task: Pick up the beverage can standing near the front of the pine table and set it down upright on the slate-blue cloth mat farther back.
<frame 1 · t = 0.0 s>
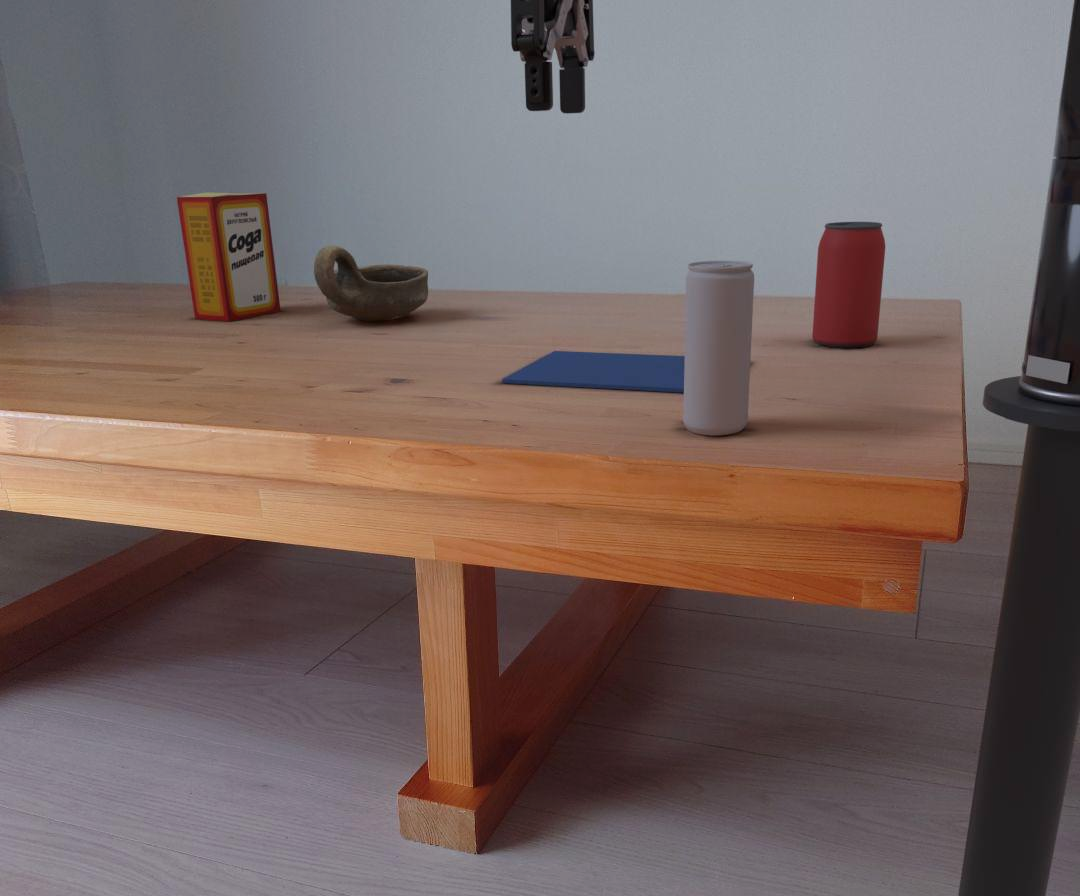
hand: (557, 112, 89), 23 cm above the table, tool pointing down, fingers open, 8 cm apart
baking soda box: (238, 316, 139), on the table
beer can: (844, 345, 106), on the table
beverage can: (714, 431, 76), on the table
bowl: (371, 323, 129), on the table
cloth: (628, 372, 95), on the table
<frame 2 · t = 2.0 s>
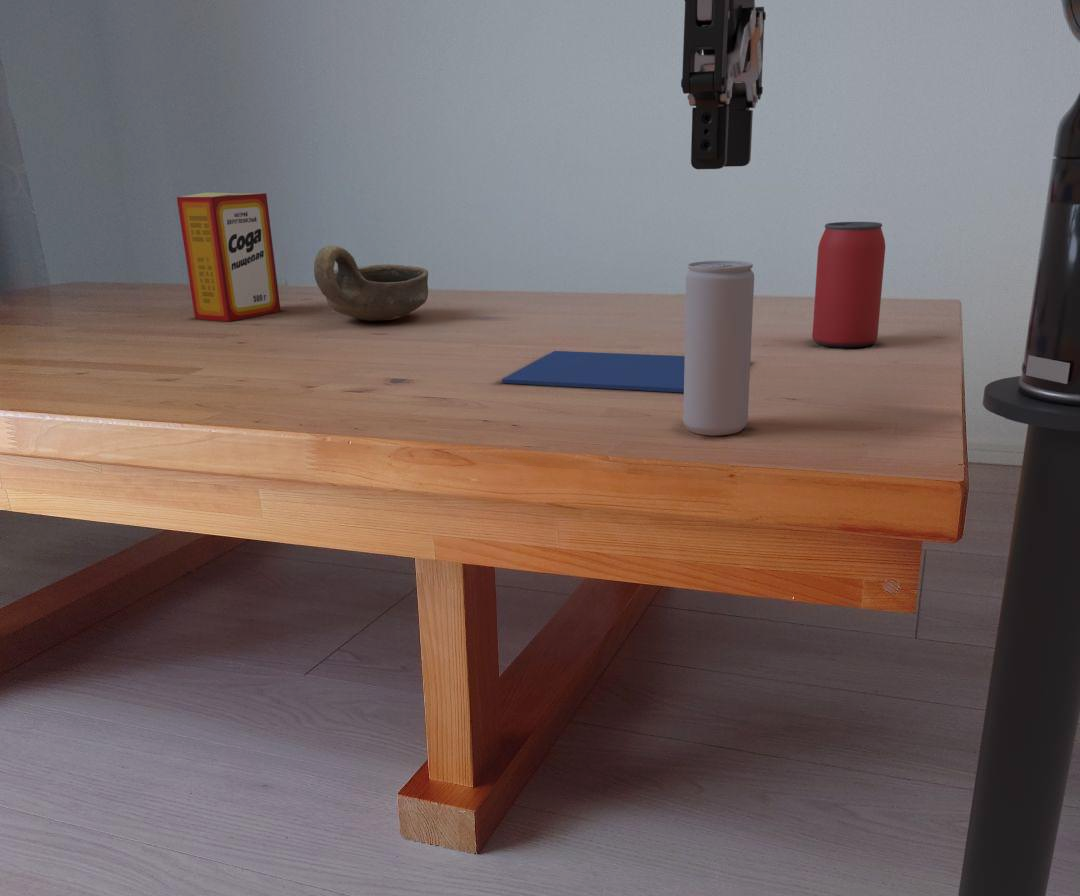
hand: (722, 167, 69), 18 cm above the table, tool pointing down, fingers open, 8 cm apart
nothing on the table moved.
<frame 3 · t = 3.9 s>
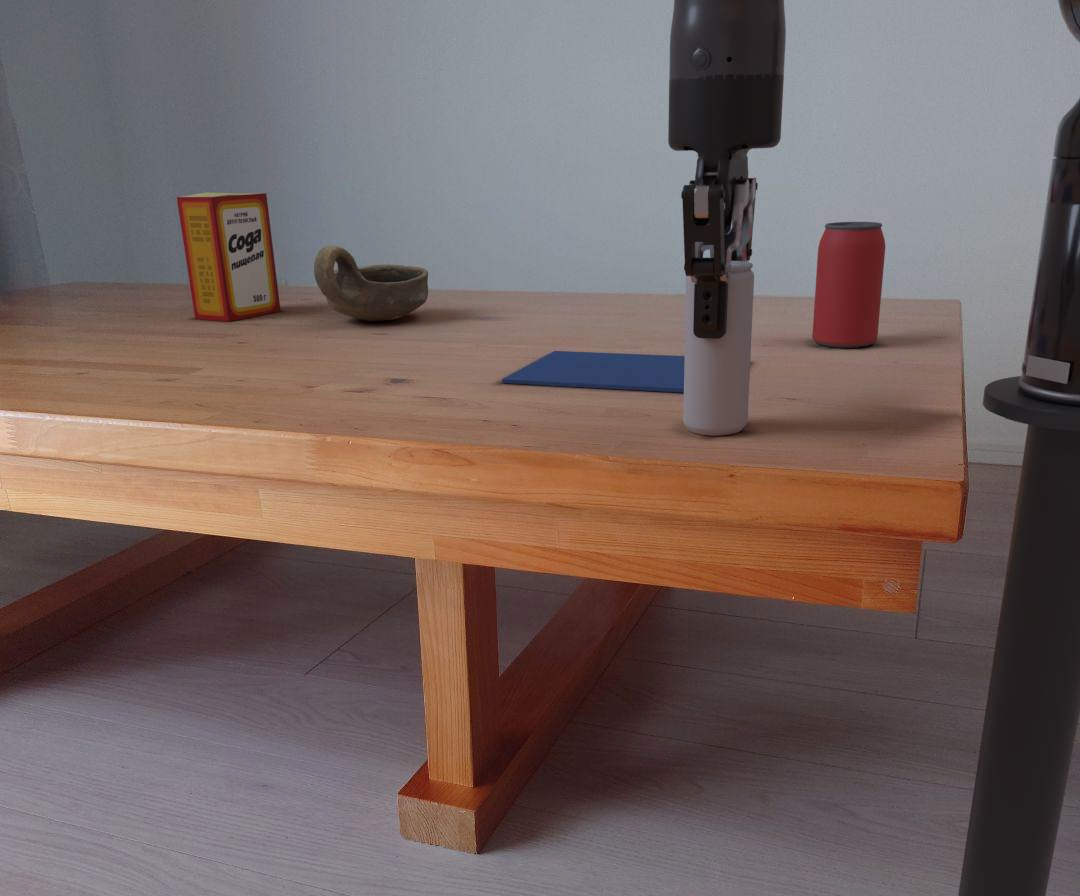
hand: (717, 329, 73), 7 cm above the table, tool pointing down, fingers closed on beverage can, 5 cm apart
beverage can: (714, 431, 76), on the table, touching gripper
everything else where it was.
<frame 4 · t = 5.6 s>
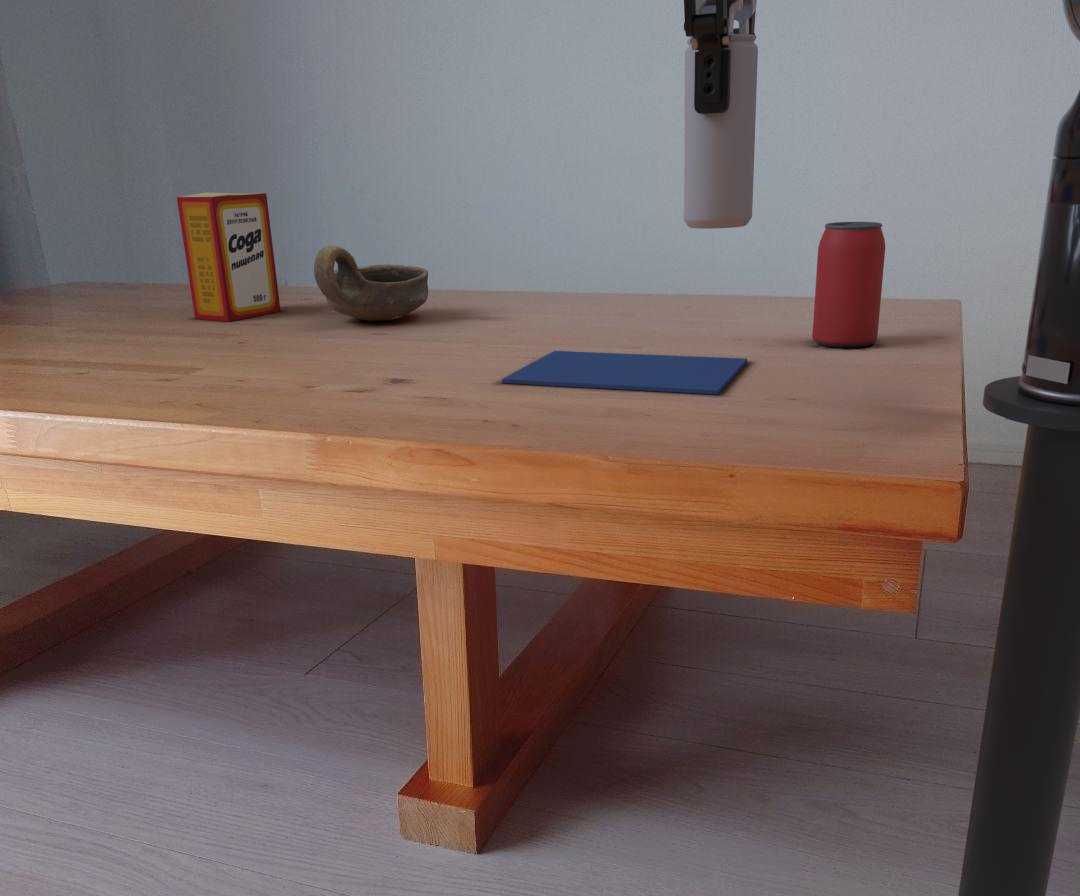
hand: (719, 112, 69), 22 cm above the table, tool pointing down, fingers closed on beverage can, 5 cm apart
beverage can: (717, 229, 71), point 14 cm above the table, touching gripper
everything else where it was.
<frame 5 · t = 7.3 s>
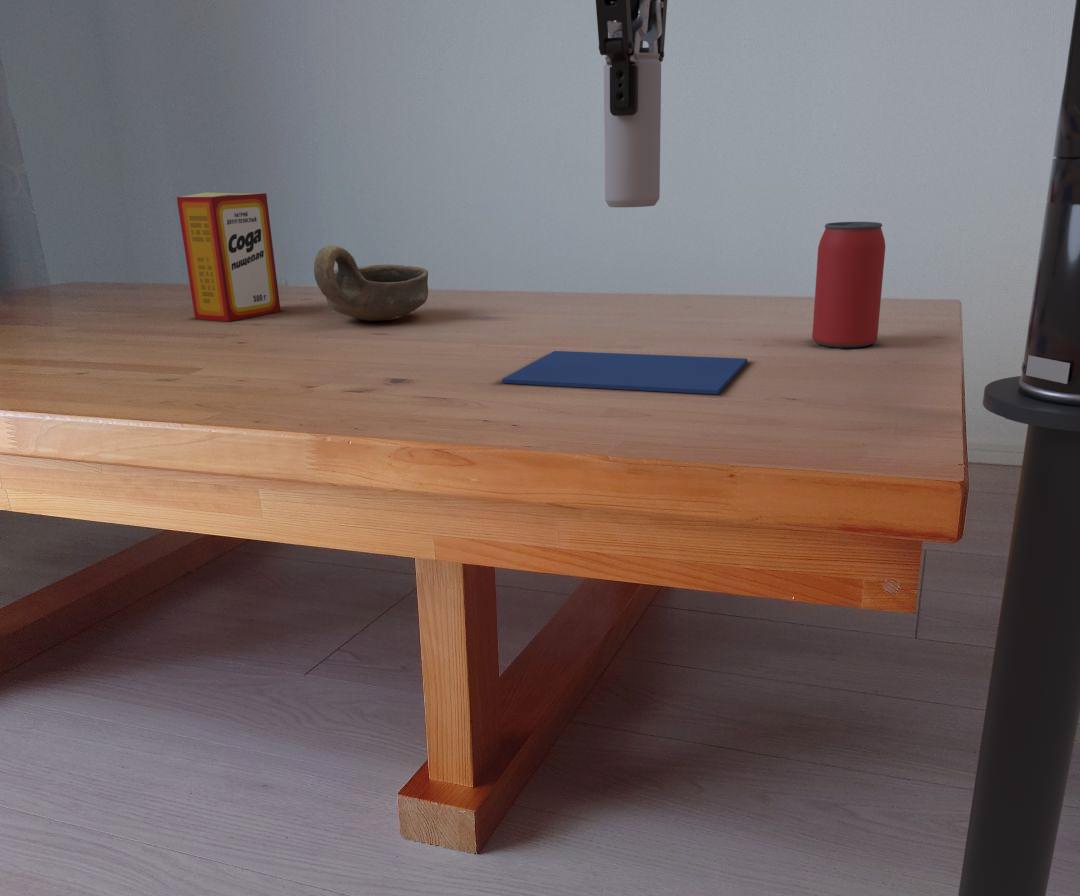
hand: (632, 115, 86), 22 cm above the table, tool pointing down, fingers closed on beverage can, 5 cm apart
beverage can: (632, 208, 89), point 15 cm above the table, touching gripper
everything else where it was.
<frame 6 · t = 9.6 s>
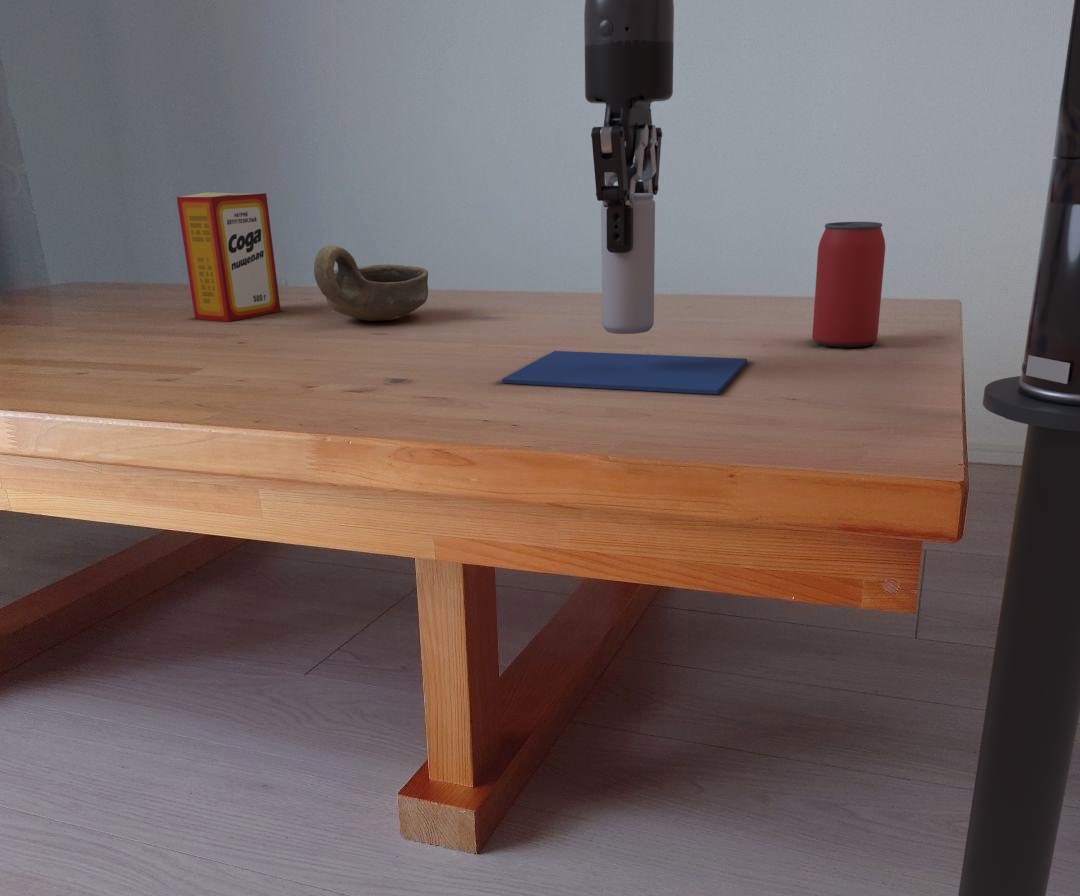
hand: (628, 248, 91), 11 cm above the table, tool pointing down, fingers closed on beverage can, 5 cm apart
beverage can: (627, 332, 94), point 4 cm above the table, touching gripper
everything else where it was.
when the fingers open (8 cm above the table, at t = 11.0 s): beverage can stays where it is, resting on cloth.
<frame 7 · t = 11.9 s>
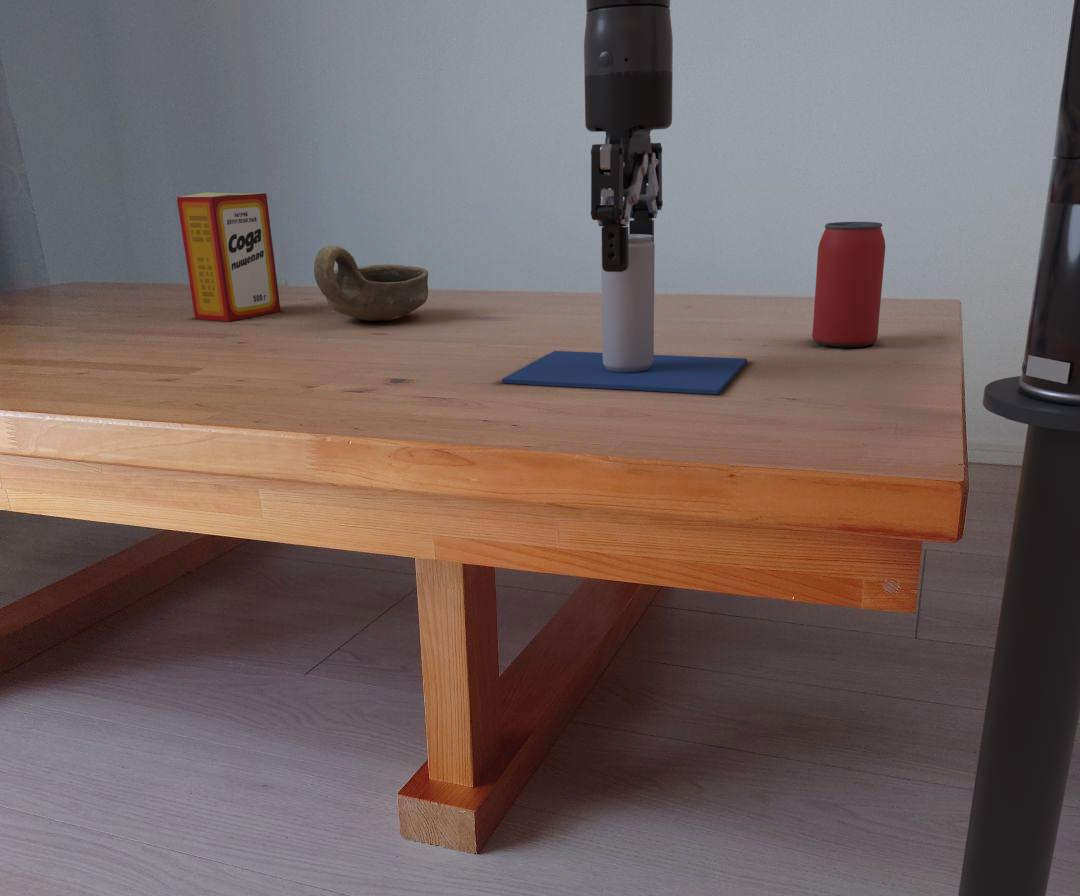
hand: (629, 266, 92), 10 cm above the table, tool pointing down, fingers open, 8 cm apart
beverage can: (627, 370, 95), resting on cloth
everything else where it was.
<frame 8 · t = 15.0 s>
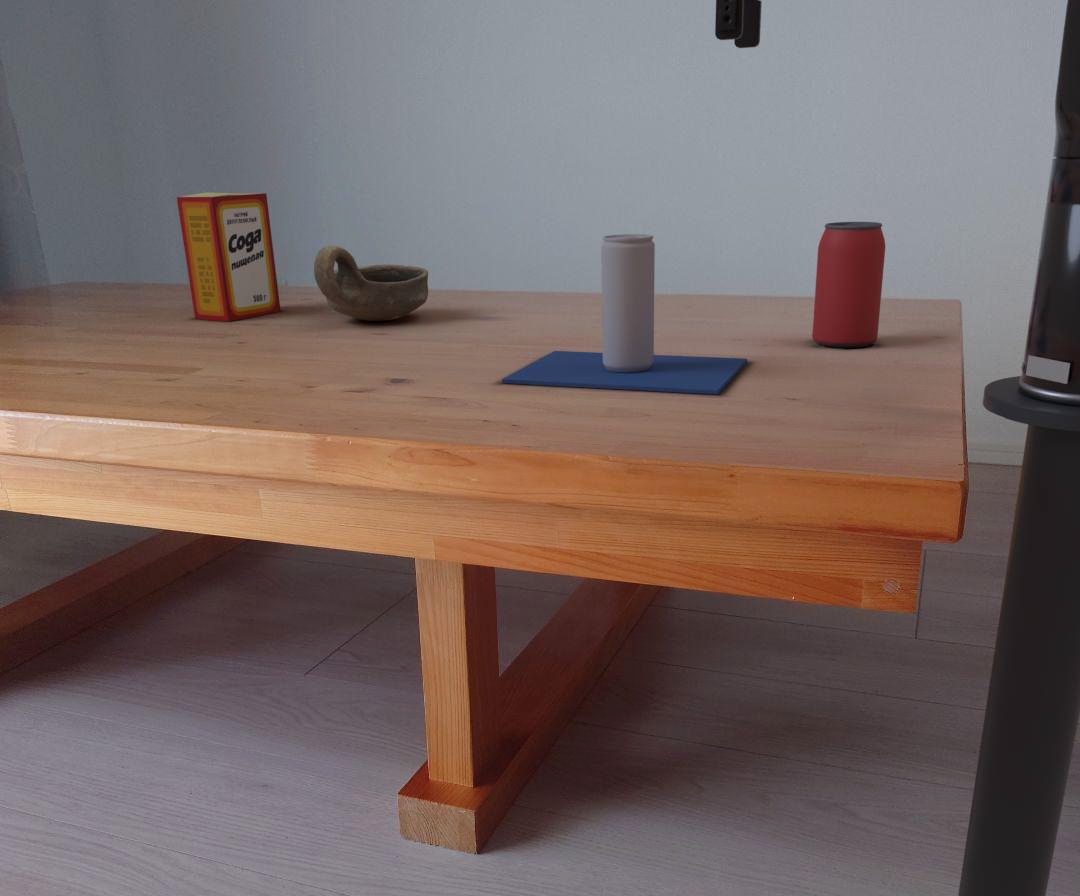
hand: (738, 43, 89), 28 cm above the table, tool pointing down, fingers open, 8 cm apart
nothing on the table moved.
at the end: beverage can inside the target area on the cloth (0.0 cm from its centre), point 0.2 cm above the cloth's base; beverage can tilted 0°; the gripper is holding nothing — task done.
